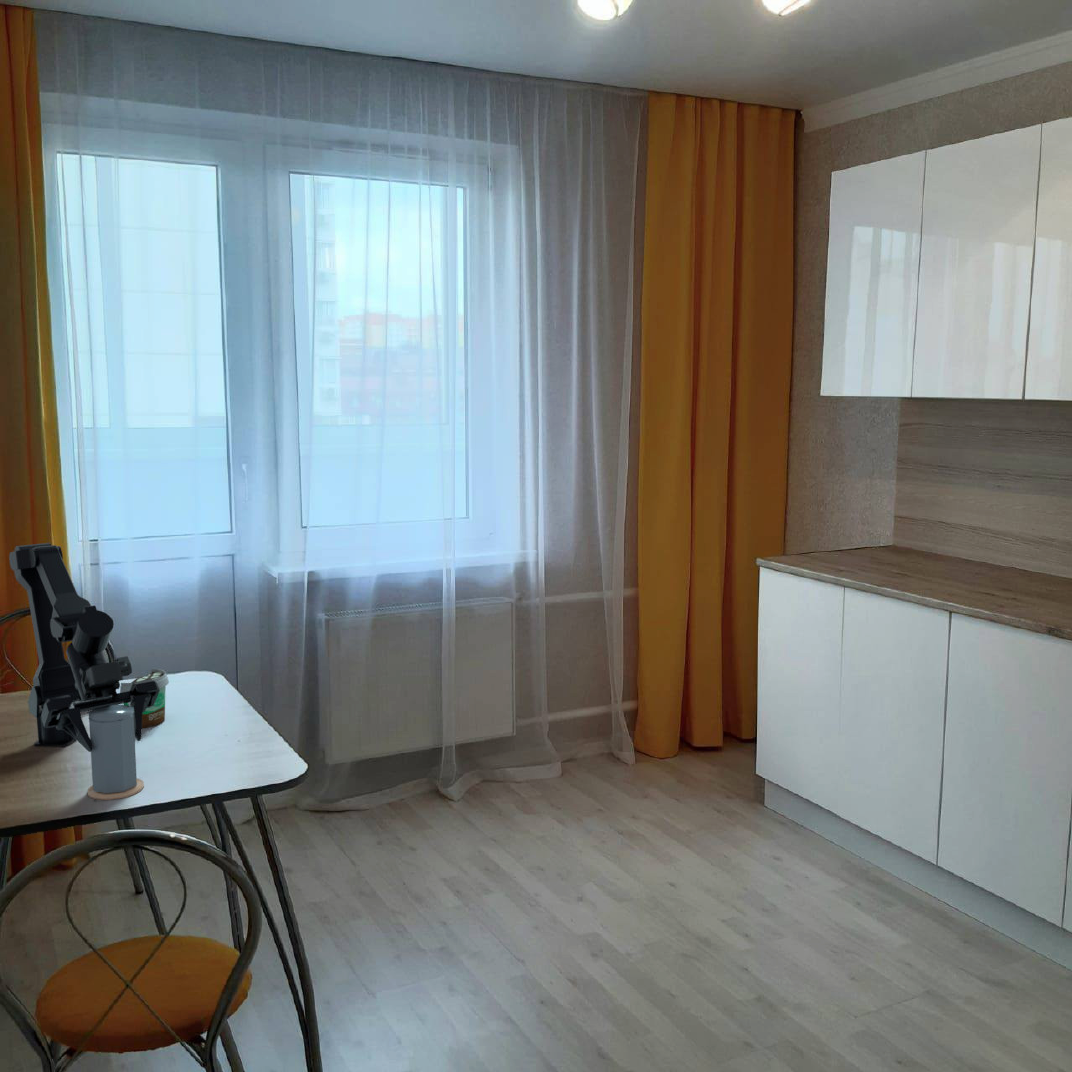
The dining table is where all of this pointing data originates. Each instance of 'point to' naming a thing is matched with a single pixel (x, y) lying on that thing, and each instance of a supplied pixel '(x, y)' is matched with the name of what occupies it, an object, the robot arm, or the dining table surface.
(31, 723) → the dining table surface
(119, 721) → the blue-gray container
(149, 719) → the food container
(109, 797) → the terracotta coaster
